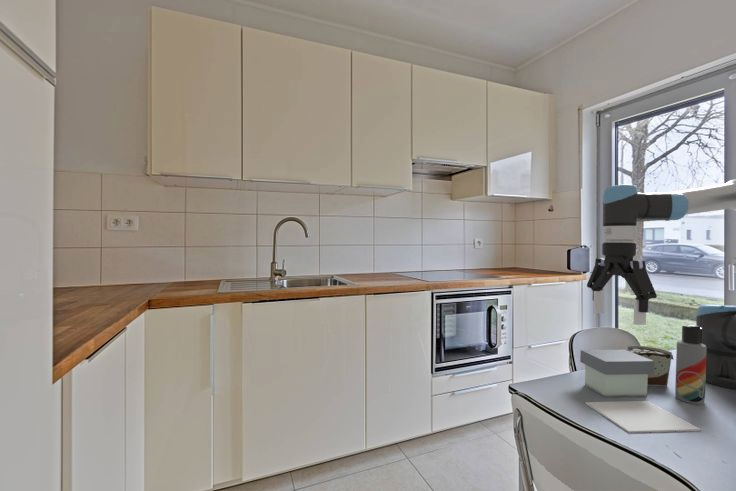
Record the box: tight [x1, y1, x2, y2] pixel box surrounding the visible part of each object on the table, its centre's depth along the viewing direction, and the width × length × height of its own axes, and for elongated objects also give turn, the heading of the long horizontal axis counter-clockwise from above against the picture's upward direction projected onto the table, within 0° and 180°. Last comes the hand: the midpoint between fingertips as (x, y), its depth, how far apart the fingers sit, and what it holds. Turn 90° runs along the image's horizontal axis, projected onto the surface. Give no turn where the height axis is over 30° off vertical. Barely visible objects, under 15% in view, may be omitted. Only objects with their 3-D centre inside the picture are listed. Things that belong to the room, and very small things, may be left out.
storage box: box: [584, 364, 648, 398], centre depth 94 cm, size 12×8×9 cm, turn 94°
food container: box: [625, 345, 675, 387], centre depth 101 cm, size 12×6×10 cm, turn 84°
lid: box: [579, 349, 654, 375], centre depth 94 cm, size 14×9×4 cm
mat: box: [585, 400, 701, 434], centre depth 80 cm, size 17×13×1 cm
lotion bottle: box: [674, 324, 706, 405], centre depth 89 cm, size 6×6×20 cm
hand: (617, 318), depth 93 cm, fingers open, 13 cm apart
